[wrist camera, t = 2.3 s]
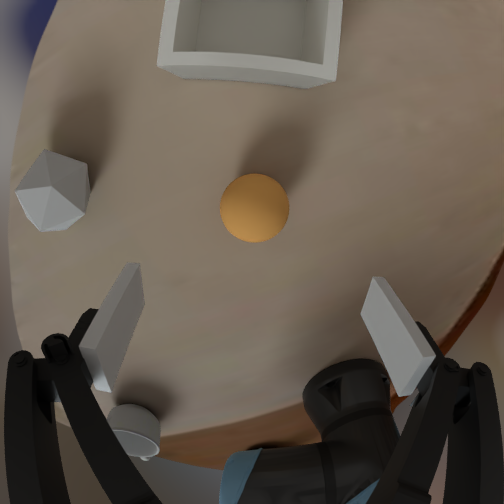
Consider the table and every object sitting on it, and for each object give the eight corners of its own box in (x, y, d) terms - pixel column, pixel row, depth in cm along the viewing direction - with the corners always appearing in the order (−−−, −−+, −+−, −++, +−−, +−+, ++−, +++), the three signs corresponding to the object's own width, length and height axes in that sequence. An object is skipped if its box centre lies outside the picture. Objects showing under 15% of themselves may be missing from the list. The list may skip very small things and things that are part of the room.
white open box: (315, -12, 21) (344, -52, 12) (305, 89, 26) (335, 81, 17) (197, -22, 20) (180, -67, 11) (183, 78, 25) (156, 65, 16)
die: (35, 168, 29) (8, 237, 25) (43, 121, 23) (3, 198, 19) (91, 187, 33) (71, 257, 29) (109, 145, 27) (83, 224, 23)
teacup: (105, 392, 46) (93, 426, 39) (160, 401, 47) (153, 438, 40) (122, 428, 53) (114, 458, 45) (170, 436, 53) (165, 467, 46)
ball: (288, 171, 30) (299, 186, 24) (280, 229, 33) (288, 257, 27) (224, 165, 30) (220, 179, 24) (220, 224, 33) (215, 251, 27)
